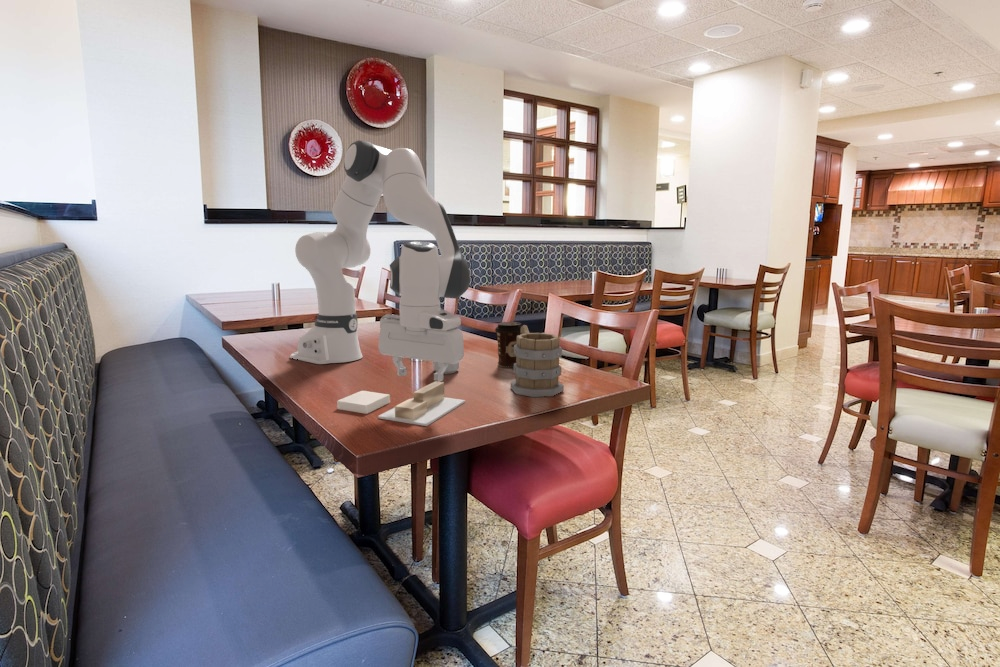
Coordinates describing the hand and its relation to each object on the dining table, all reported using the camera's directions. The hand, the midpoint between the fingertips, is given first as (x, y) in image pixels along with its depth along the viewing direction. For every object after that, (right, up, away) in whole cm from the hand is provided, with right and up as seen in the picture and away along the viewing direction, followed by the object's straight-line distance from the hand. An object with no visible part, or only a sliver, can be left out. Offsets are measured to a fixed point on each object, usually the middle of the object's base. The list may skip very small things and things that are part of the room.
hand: (420, 378), depth 123 cm
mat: (+1, -7, +1) cm, 7 cm away
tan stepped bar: (+1, -7, +1) cm, 7 cm away
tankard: (+27, -4, +22) cm, 34 cm away
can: (+2, -1, +36) cm, 36 cm away
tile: (-13, -6, +4) cm, 15 cm away
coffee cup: (+21, 0, +43) cm, 48 cm away
